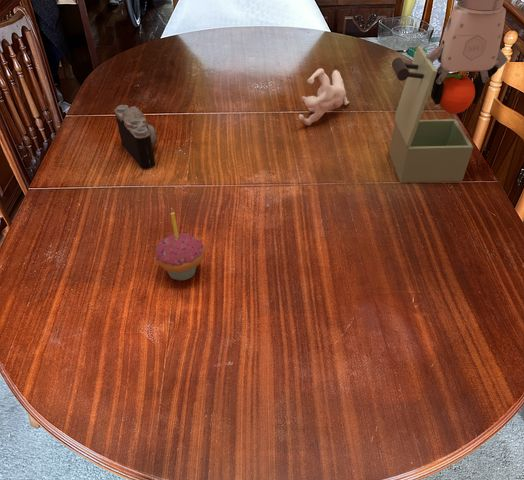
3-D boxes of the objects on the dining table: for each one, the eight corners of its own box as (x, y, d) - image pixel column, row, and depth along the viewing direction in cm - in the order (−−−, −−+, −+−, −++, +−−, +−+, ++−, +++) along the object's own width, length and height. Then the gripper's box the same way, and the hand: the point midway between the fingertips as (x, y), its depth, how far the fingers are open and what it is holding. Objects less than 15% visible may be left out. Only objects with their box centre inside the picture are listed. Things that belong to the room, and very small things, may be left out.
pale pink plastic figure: (311, 54, 130) (310, 68, 116) (359, 68, 131) (363, 84, 117) (297, 108, 138) (295, 127, 124) (342, 120, 139) (344, 140, 125)
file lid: (421, 46, 101) (392, 42, 100) (437, 71, 93) (406, 67, 92) (397, 118, 112) (371, 115, 111) (410, 146, 104) (382, 143, 103)
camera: (170, 163, 116) (163, 119, 108) (142, 171, 114) (133, 127, 106) (145, 136, 124) (137, 94, 117) (119, 143, 122) (109, 101, 114)
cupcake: (155, 262, 93) (143, 205, 84) (200, 253, 94) (193, 196, 85) (164, 292, 87) (152, 235, 78) (211, 282, 89) (205, 225, 80)
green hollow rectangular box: (446, 152, 118) (456, 119, 112) (462, 181, 110) (473, 147, 104) (388, 153, 118) (395, 120, 112) (400, 182, 110) (407, 148, 104)
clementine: (424, 113, 104) (433, 76, 99) (437, 100, 108) (446, 64, 103) (462, 122, 101) (473, 85, 96) (473, 110, 105) (485, 73, 100)
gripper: (438, 6, 87) (415, 110, 101) (538, 3, 87) (502, 108, 101) (427, -7, 92) (407, 94, 106) (522, -9, 92) (490, 92, 106)
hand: (454, 100), depth 103 cm, fingers closed on clementine, 7 cm apart
